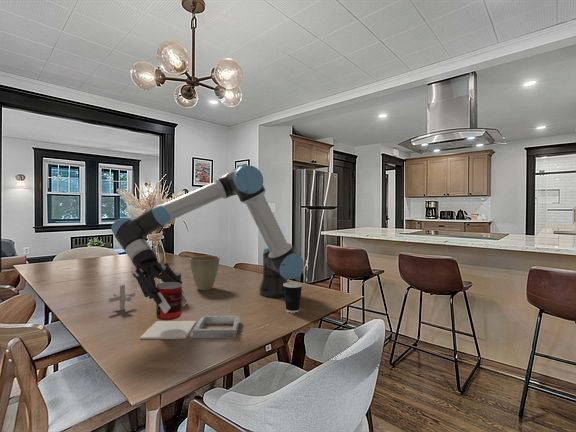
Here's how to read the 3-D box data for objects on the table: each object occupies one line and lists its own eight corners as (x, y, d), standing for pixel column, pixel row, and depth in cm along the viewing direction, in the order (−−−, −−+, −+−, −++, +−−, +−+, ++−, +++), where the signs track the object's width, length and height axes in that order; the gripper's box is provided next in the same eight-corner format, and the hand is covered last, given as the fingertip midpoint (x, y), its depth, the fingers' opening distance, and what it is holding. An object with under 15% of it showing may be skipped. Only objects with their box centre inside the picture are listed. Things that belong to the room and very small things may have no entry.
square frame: (239, 322, 112) (239, 315, 112) (235, 337, 98) (235, 330, 98) (202, 322, 111) (202, 315, 111) (192, 338, 97) (192, 330, 97)
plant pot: (184, 288, 159) (184, 257, 159) (210, 283, 169) (211, 254, 169) (197, 294, 148) (198, 261, 148) (224, 289, 158) (225, 258, 158)
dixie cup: (301, 308, 129) (302, 282, 129) (302, 314, 121) (303, 286, 121) (283, 307, 129) (283, 281, 129) (282, 314, 121) (282, 286, 121)
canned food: (160, 313, 107) (160, 281, 107) (184, 312, 108) (184, 281, 107) (152, 321, 99) (153, 287, 99) (178, 320, 100) (178, 287, 100)
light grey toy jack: (116, 315, 117) (116, 289, 117) (102, 310, 122) (102, 285, 122) (141, 308, 126) (141, 284, 125) (127, 304, 131) (127, 280, 131)
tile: (195, 322, 111) (195, 320, 111) (185, 338, 97) (185, 336, 97) (156, 322, 110) (156, 321, 110) (139, 339, 96) (139, 337, 96)
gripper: (158, 258, 118) (191, 305, 113) (109, 266, 100) (146, 324, 94) (169, 245, 116) (203, 292, 110) (121, 251, 97) (159, 309, 91)
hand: (177, 306), depth 102 cm, fingers closed on canned food, 8 cm apart
